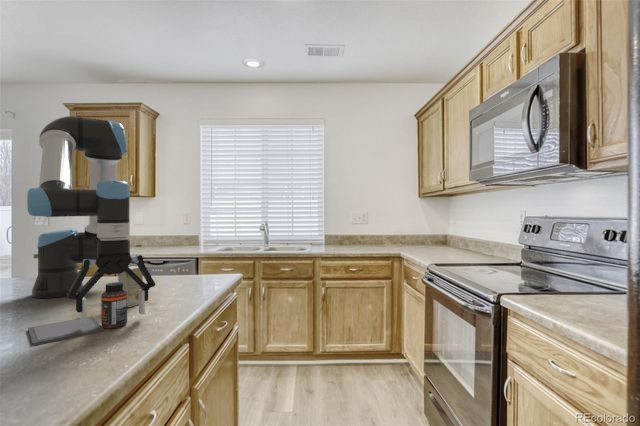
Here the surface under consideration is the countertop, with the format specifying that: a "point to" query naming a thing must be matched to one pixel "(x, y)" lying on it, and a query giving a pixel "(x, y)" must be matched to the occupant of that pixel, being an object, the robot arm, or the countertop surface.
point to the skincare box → (131, 286)
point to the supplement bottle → (114, 306)
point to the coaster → (63, 330)
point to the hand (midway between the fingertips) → (114, 318)
